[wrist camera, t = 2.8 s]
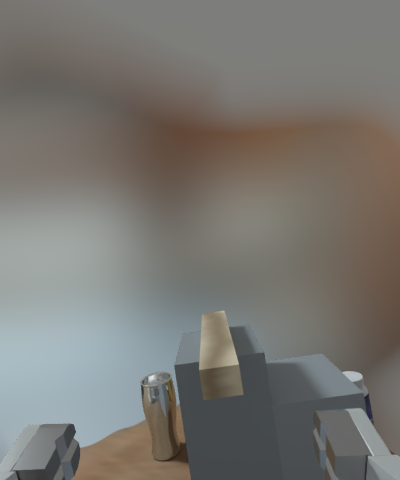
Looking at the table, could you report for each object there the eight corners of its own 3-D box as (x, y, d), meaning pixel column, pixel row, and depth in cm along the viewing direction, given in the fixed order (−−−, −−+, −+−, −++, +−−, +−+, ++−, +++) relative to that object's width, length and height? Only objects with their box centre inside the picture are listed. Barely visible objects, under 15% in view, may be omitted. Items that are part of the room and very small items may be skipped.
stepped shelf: (203, 562, 39) (174, 365, 40) (204, 479, 53) (182, 333, 54) (386, 538, 39) (354, 339, 39) (338, 460, 53) (315, 314, 53)
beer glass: (171, 435, 67) (161, 368, 67) (189, 448, 62) (179, 376, 62) (143, 452, 63) (133, 381, 63) (161, 468, 57) (149, 390, 58)
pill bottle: (363, 413, 65) (355, 367, 65) (380, 430, 59) (372, 379, 59) (337, 418, 64) (330, 372, 64) (352, 435, 59) (344, 384, 59)
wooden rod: (203, 400, 30) (198, 370, 30) (204, 330, 54) (202, 313, 54) (243, 394, 29) (239, 364, 30) (226, 327, 53) (224, 310, 54)
